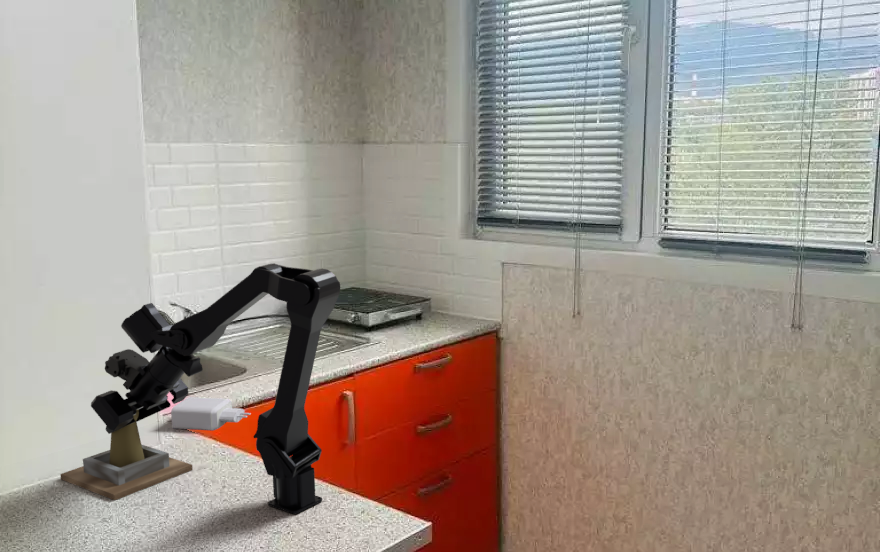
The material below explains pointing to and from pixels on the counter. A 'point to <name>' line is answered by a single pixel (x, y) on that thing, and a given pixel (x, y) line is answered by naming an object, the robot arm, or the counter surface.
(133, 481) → the socket base
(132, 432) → the cork
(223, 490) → the counter surface
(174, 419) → the charger
